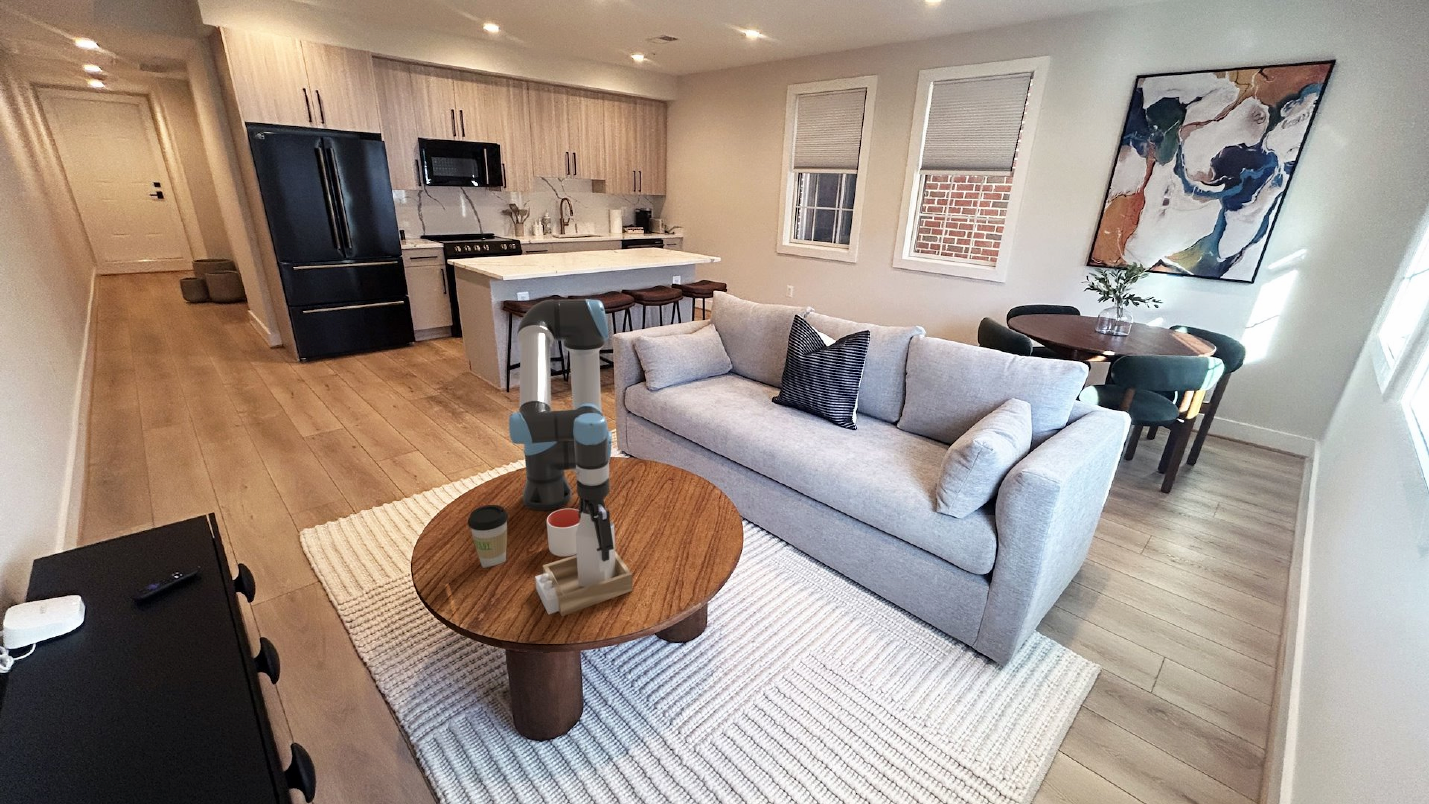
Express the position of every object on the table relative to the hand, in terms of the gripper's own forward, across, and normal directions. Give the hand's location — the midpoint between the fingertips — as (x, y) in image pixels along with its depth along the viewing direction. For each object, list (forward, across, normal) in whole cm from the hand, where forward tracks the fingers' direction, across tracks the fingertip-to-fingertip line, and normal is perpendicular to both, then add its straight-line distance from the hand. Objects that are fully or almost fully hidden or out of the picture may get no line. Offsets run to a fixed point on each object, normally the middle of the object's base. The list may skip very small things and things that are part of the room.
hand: (596, 557), depth 138 cm
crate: (+9, 0, -2) cm, 9 cm away
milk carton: (+7, 0, 0) cm, 7 cm away
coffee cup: (+9, -23, -20) cm, 32 cm away
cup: (+9, -19, -2) cm, 21 cm away
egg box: (+8, 0, -12) cm, 14 cm away
